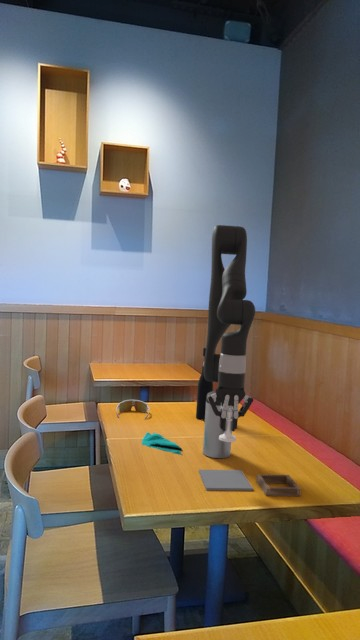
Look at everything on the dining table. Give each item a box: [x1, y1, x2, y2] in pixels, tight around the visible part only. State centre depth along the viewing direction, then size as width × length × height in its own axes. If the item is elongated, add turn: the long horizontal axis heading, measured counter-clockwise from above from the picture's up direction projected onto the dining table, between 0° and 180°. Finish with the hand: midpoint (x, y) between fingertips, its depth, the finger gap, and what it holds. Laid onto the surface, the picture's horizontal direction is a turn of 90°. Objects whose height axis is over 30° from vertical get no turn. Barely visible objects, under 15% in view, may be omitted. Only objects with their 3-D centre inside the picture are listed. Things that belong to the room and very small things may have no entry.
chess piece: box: [219, 406, 237, 443], centre depth 131 cm, size 5×5×10 cm
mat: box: [198, 469, 254, 492], centre depth 132 cm, size 13×13×1 cm
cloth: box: [141, 431, 183, 456], centre depth 162 cm, size 26×14×2 cm, turn 18°
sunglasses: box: [115, 399, 150, 421], centre depth 197 cm, size 14×15×5 cm
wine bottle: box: [195, 347, 214, 421], centre depth 198 cm, size 6×6×30 cm
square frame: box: [255, 474, 302, 497], centre depth 129 cm, size 10×10×2 cm
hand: (227, 430), depth 132 cm, fingers closed on chess piece
